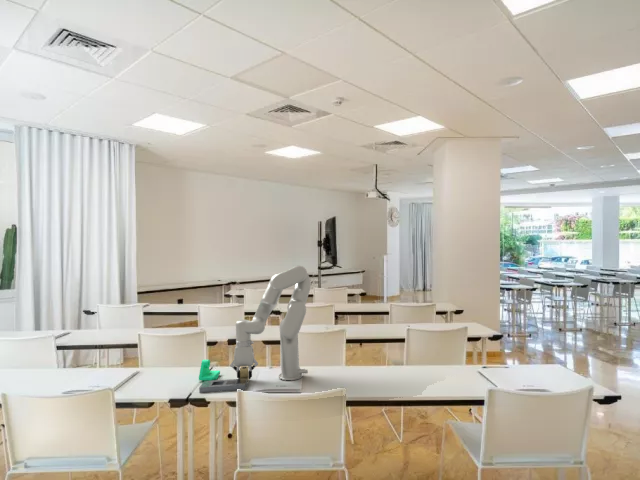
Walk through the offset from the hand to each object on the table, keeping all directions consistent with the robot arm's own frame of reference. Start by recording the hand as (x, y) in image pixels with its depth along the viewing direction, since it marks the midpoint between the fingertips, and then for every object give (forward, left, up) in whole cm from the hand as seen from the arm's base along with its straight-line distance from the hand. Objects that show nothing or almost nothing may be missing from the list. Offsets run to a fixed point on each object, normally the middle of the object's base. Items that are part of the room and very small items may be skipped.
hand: (244, 378), depth 203 cm
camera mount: (+20, -8, -2) cm, 21 cm away
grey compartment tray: (+9, +9, -1) cm, 13 cm away
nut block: (0, 0, -1) cm, 1 cm away
